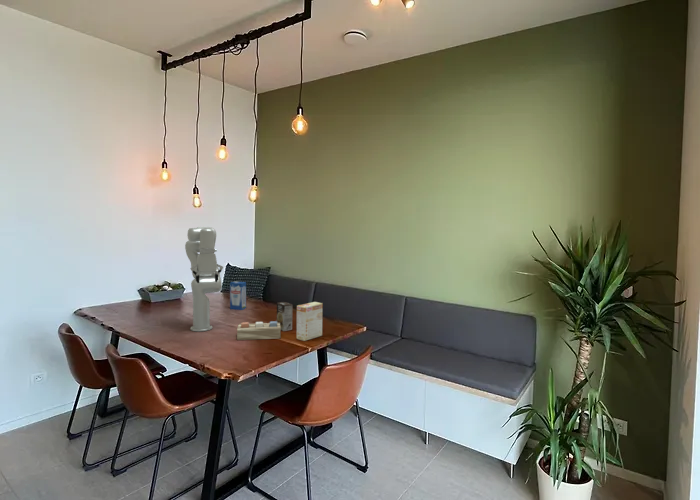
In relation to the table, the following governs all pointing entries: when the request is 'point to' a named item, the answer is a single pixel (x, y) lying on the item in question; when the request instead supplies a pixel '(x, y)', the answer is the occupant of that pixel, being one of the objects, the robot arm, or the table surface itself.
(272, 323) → the slate-blue key
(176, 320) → the table surface
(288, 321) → the coffee box
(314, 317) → the coffeecake box
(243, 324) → the terracotta key
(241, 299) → the milk carton
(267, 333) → the key console
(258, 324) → the white key
